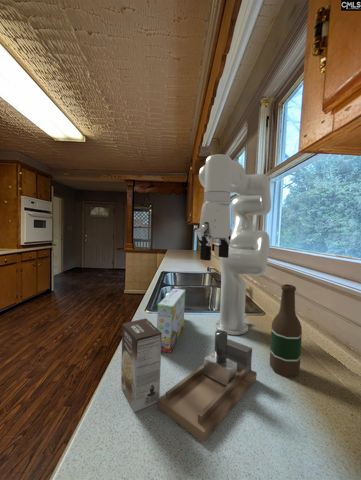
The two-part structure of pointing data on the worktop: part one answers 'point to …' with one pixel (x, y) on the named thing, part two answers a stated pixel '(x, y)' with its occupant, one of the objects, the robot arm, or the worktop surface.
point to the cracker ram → (220, 361)
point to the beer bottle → (286, 336)
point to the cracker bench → (208, 395)
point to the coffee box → (141, 363)
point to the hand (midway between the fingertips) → (214, 258)
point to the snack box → (171, 318)
